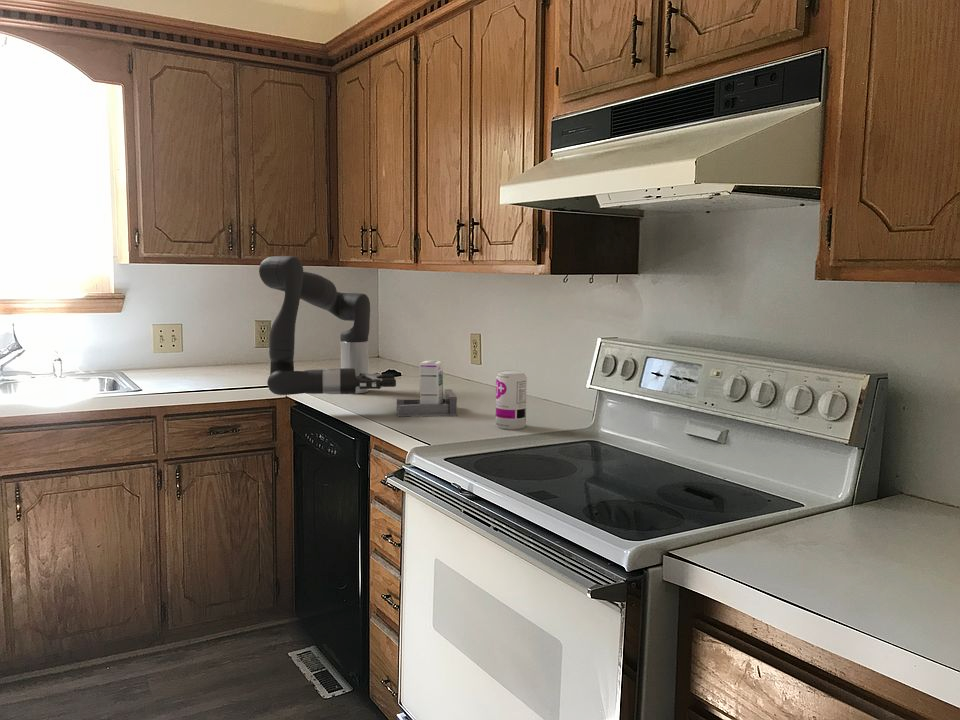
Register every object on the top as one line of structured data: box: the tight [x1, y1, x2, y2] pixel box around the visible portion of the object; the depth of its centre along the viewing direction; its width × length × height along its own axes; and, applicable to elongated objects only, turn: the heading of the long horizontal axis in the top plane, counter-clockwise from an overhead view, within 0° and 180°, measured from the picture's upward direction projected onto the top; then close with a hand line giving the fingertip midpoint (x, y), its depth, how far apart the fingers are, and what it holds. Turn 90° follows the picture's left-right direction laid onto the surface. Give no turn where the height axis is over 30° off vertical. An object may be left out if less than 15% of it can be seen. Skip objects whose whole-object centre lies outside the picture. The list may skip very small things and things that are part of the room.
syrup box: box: [419, 360, 444, 404], centre depth 239 cm, size 6×6×14 cm
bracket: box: [395, 388, 458, 418], centre depth 240 cm, size 14×17×6 cm
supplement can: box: [495, 369, 528, 431], centre depth 219 cm, size 8×8×15 cm
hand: (395, 380), depth 238 cm, fingers open, 8 cm apart
